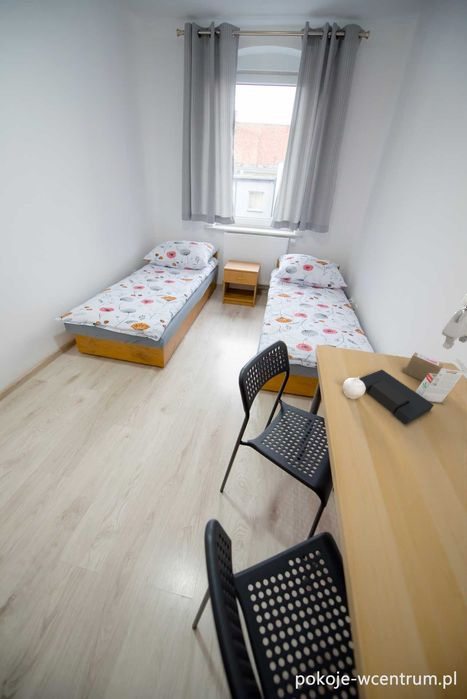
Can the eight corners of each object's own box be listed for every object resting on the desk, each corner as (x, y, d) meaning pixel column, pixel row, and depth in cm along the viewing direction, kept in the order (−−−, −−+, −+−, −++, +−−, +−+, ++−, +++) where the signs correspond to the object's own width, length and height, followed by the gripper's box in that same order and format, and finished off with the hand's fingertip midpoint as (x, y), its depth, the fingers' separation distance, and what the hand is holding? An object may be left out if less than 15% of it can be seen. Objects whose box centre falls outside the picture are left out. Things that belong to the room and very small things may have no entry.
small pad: (403, 407, 93) (408, 399, 91) (392, 413, 90) (398, 404, 88) (378, 388, 100) (382, 380, 98) (367, 393, 97) (371, 385, 95)
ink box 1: (432, 381, 107) (444, 364, 103) (430, 385, 105) (442, 368, 100) (405, 368, 113) (415, 351, 108) (402, 372, 110) (412, 355, 105)
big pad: (429, 411, 93) (434, 404, 91) (405, 425, 87) (410, 418, 85) (378, 375, 107) (382, 369, 105) (355, 384, 100) (358, 378, 98)
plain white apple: (362, 393, 97) (371, 375, 92) (359, 405, 91) (368, 387, 87) (342, 385, 99) (349, 368, 95) (338, 397, 94) (346, 379, 89)
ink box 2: (414, 393, 100) (435, 361, 92) (436, 396, 100) (459, 364, 92) (418, 400, 97) (441, 367, 89) (441, 403, 97) (465, 371, 89)
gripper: (478, 312, 68) (447, 357, 76) (511, 302, 77) (481, 343, 85) (452, 302, 72) (425, 345, 80) (486, 293, 82) (459, 333, 89)
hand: (454, 344), depth 83 cm, fingers open, 8 cm apart
